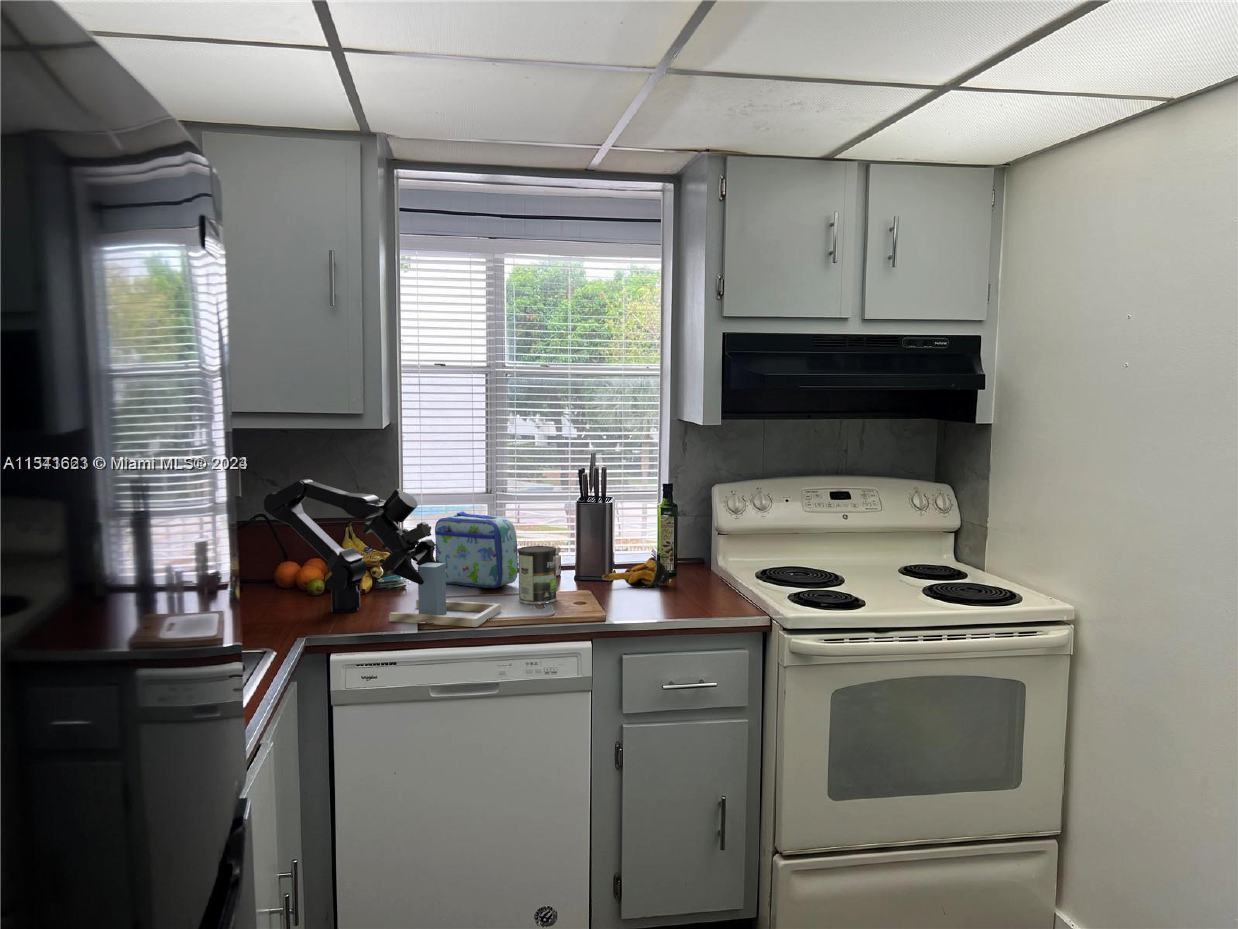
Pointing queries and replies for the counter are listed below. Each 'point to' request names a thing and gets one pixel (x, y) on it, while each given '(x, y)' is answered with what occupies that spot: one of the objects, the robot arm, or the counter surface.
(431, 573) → the slate block
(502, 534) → the lunch box
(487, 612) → the wooden picture frame
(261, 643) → the counter surface
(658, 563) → the yellow lumpy two-tone part
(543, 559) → the coffee can
